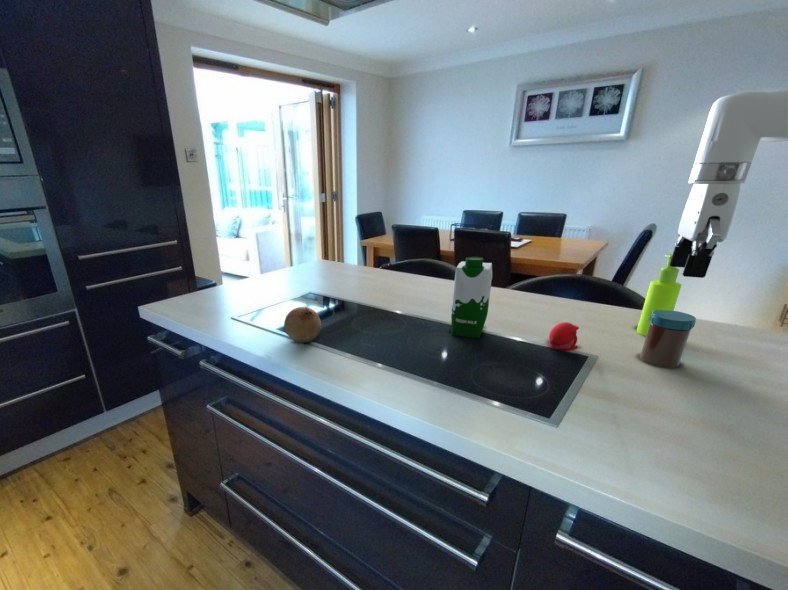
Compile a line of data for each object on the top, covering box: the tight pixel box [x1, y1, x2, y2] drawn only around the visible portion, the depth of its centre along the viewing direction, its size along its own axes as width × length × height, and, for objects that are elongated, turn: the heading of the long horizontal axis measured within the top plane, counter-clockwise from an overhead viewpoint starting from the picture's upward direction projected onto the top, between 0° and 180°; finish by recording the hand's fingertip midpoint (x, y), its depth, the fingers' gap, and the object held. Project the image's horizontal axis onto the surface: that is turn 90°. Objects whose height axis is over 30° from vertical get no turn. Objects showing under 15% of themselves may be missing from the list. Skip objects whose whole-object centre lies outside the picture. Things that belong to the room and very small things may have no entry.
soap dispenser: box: [636, 253, 682, 337], centre depth 95 cm, size 6×7×20 cm
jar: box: [639, 322, 692, 369], centre depth 81 cm, size 7×7×11 cm
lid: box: [649, 310, 697, 330], centre depth 79 cm, size 7×7×2 cm
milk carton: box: [450, 256, 493, 339], centre depth 99 cm, size 9×9×20 cm
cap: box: [548, 321, 580, 352], centre depth 91 cm, size 8×6×6 cm
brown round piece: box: [283, 306, 322, 344], centre depth 100 cm, size 10×9×10 cm
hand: (685, 271), depth 76 cm, fingers open, 8 cm apart
